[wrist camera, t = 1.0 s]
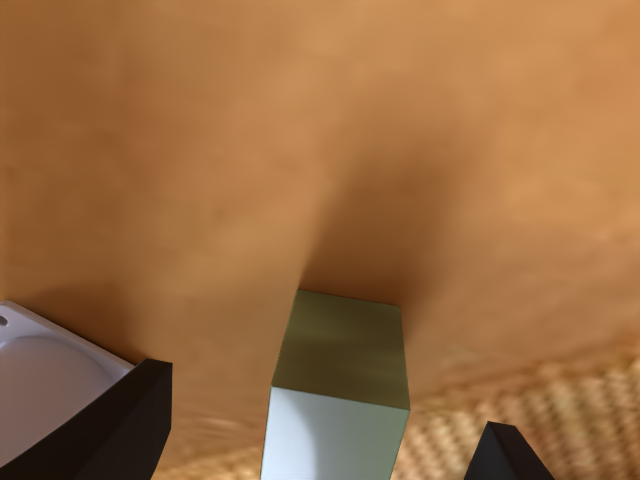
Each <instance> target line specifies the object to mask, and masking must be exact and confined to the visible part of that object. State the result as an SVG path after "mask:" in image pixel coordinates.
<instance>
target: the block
mask: <svg viewBox="0 0 640 480" xmlns="http://www.w3.org/2000/svg"><path fill="white" fill-rule="evenodd" d="M409 413H410V400H409V390H408V380H407V371H406V361H405V351H404V341H403V331H402V322H401V312H400V307H399V306H394V305H388V304H382V303H376V302H370V301H364V300H358V299H352V298H346V297H340V296H335V295H329V294H323V293H317V292H311V291H305V290H299V289H297V291H296V294H295V298H294V302H293V305H292V309H291V313H290V317H289V320H288V324H287V328H286V331H285V335H284V339H283V342H282V346H281V350H280V353H279V357H278V361H277V364H276V368H275V372H274V375H273V379H272V383H271V387H270V396H269V404H268V413H267V421H266V429H265V438H264V446H263V455H262V463H261V471H260V480H390V478H391V475H392V471H393V468H394V465H395V461H396V458H397V454H398V451H399V448H400V444H401V441H402V437H403V434H404V430H405V427H406V424H407V420H408V417H409Z"/></svg>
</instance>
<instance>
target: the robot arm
mask: <svg viewBox="0 0 640 480" xmlns="http://www.w3.org/2000/svg"><path fill="white" fill-rule="evenodd" d="M4 317H5V318H6V319H7V320H6V319H5V318H4ZM172 367H173V363H170V362H165V361H159V360H154V359H148V358H146V359H144V360H143V361H141V362H140V363H139V364H138V365H136V366H134V365H132V364H130V363H128V362H127V361H125V360H123V359H121V358H119V357H117V356H115V355H113V354H111V353H109V352H108V351H106V350H104V349H102V348H100V347H98V346H96V345H94V344H92V343H90V342H89V341H87V340H85V339H83V338H81V337H79V336H77V335H75V334H73V333H71V332H70V331H68V330H66V329H64V328H62V327H60V326H58V325H56V324H54V323H52V322H51V321H49V320H47V319H45V318H43V317H41V316H39V315H37V314H35V313H33V312H32V311H30V310H28V309H26V308H24V307H22V306H20V305H18V304H16V303H14V302H12V301H9V300H4V301H2V302H1V303H0V480H150V479H151V477H152V475H153V473H154V471H155V469H156V466H157V464H158V461H159V459H160V456H161V454H162V451H163V449H164V446H165V443H166V441H167V438H168V435H169V433H170V430H171V412H172ZM464 480H555V479H554V478H553V477H552V475H551V474H550V472H549V471H548V470H547V468H546V467H545V466H544V464H543V463H542V462H541V460H540V459H539V458H538V456H537V455H536V454H535V452H534V451H533V449H532V448H531V447H530V445H529V444H528V443H527V441H526V440H525V439H524V437H523V436H522V435H521V433H520V432H519V431H518V429H517V428H516V427H515V426H512V425H507V424H501V423H496V422H490V421H488V422H487V424H486V426H485V429H484V431H483V434H482V436H481V439H480V441H479V443H478V446H477V448H476V451H475V453H474V456H473V458H472V460H471V463H470V465H469V468H468V470H467V472H466V475H465V477H464Z"/></svg>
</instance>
